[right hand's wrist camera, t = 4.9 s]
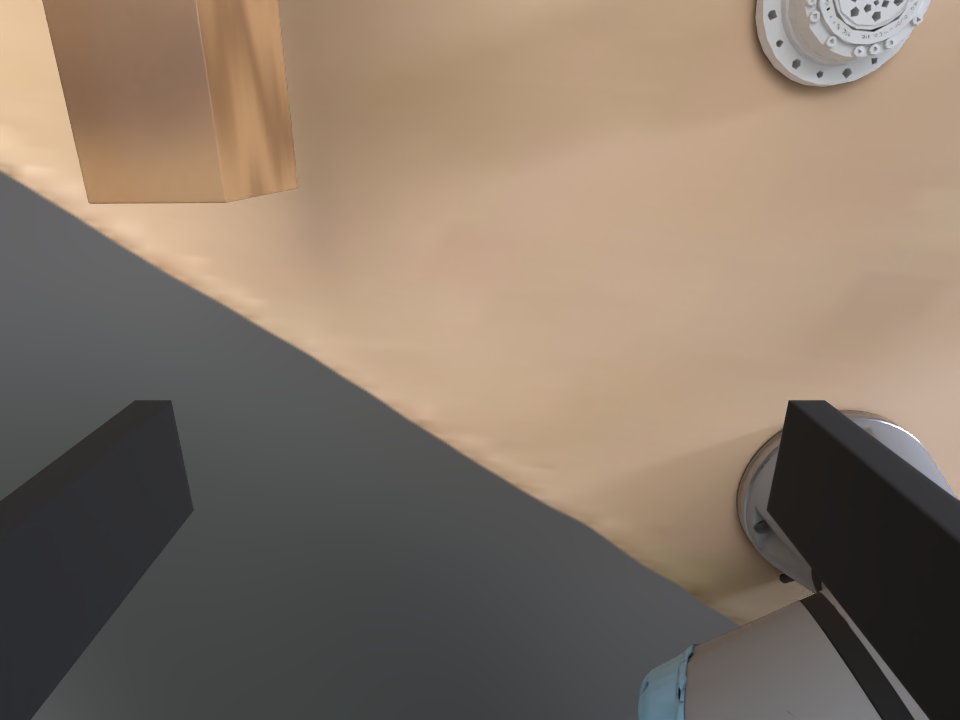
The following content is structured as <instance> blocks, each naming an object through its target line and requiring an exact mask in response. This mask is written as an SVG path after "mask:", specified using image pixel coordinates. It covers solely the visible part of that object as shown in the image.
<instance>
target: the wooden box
mask: <svg viewBox="0 0 960 720" xmlns="http://www.w3.org/2000/svg"><path fill="white" fill-rule="evenodd" d="M42 1H43V5H44V10H45V14H46V18H47V23H48V27H49V32H50V36H51V40H52V45H53V49H54V53H55V58H56V62H57V67H58V71H59V75H60V80H61V84H62V88H63V93H64V97H65V101H66V106H67V110H68V115H69V119H70V123H71V128H72V132H73V136H74V141H75V145H76V150H77V154H78V158H79V163H80V167H81V171H82V176H83V180H84V185H85V189H86V193H87V198H88V202H89V203H90V204H110V203H227V202H231V201H236V200H241V199H246V198H251V197H256V196H261V195H266V194H271V193H276V192H281V191H286V190H291V189H296V188H298V181H297V172H296V163H295V154H294V145H293V135H292V126H291V117H290V108H289V99H288V90H287V80H286V71H285V62H284V53H283V44H282V35H281V25H280V16H279V7H278V0H42Z"/></svg>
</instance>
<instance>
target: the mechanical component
mask: <svg viewBox="0 0 960 720" xmlns="http://www.w3.org/2000/svg"><path fill="white" fill-rule="evenodd" d="M930 1H931V0H757V5H756V17H755V18H756V26H757V33H758V38H759V40H760V43H761V46H762V49H763V52H764V53H765V55H766V56H767V57H768V59H769V60H770V62H771V63H772V65H773V66H774V68H776V69H777V70H778V71H780V72H781V73H782V74H783V75H785V76H786V77H787V78H789V79H790V80H792V81H795V82H798V83H800V84H803V85H810V86H820V87H826V86H831V85H836V84H841V83H846V82H851V81H855V80H857V79H859V78H861V77H863V76H865V75H867V74H869V73H871V72H873V71H875V70H877V69H878V68H879V67H880V66H881V65H883V64H884V63H885V62H886V61H887V60H889V59H890V58H891V57H892V56H893V55H895V54H896V53H897V52H898V51H899V49H900V48H901V47H902V45H903V44H904V43H905V41H906V40H907V39H908V37H909V36H910V34H911V32H912V30H913V29H914V28H915V26H917V25H918V24H920V23H921V22H922V21H923V15H924V14H925V13H926V10H927V8H928V6H929V4H930ZM767 15H768V16H769V18H768V16H767ZM792 63H793V65H792Z"/></svg>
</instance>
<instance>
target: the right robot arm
mask: <svg viewBox="0 0 960 720" xmlns="http://www.w3.org/2000/svg"><path fill="white" fill-rule="evenodd" d="M737 508H738V515H739V520H740V523H741V526H742V528H743V530H744V532H745V534H746V535H747V537H748V538H749V540H750V541H751V543H752V544H753V545H754V547H755V548H756V550H757V551H758V552H759V553H760V555H761V556H762V557H763V558H764V559H766V560H767V561H768V562H769V563H770V564H772V565H773V566H774V567H776V568H777V569H779V570H780V571H782V572H783V573H784V574H781V575H780V577H779V579H780V581H781V582H782V583H788V582H792V581H797V582H798V583H800V584H801V585H803V586H804V587H806V588H807V589H809V590H810V591H812V592H813V593H815V594H813V595H811V596H809V597H807V598H805V599H802V600H799V601H797V602H794V603H792V604H790V605H788V606H786V607H783V608H781V609H779V610H777V611H775V612H772V613H770V614H768V615H766V616H764V617H762V618H759V619H757V620H755V621H753V622H751V623H748V624H746V625H744V626H742V627H740V628H737V629H735V630H733V631H730V632H728V633H726V634H723V635H721V636H719V637H716V638H714V639H712V640H709V641H707V642H705V643H702V644H700V645H699V644H694V645H691V646H689V647H688V648H687V649H686V651H685V652H684V653H682V654H680V655H678V656H677V657H675V658H673V659H671V660H669V661H667V662H665V663H663V664H661V665H659V666H657V667H656V668H654V669H653V670H651V671H650V672H649V673H648V674H647V676H646V677H645V679H644V680H643V683H642V685H641V689H640V693H639V703H638V717H639V720H960V500H958V499H957V497H956V496H955V494H954V492H953V491H952V489H951V488H950V486H949V485H948V483H947V481H946V480H945V478H944V477H943V475H942V473H941V472H940V470H939V469H938V467H937V465H936V464H935V462H934V461H933V459H932V457H931V456H930V455H929V453H928V452H927V450H926V449H925V448H924V447H923V445H922V444H921V443H920V442H919V441H918V440H917V439H916V438H915V437H914V436H912V435H911V434H910V433H908V432H907V431H905V430H904V429H902V428H901V427H899V426H898V425H896V424H895V423H893V422H892V421H890V420H888V419H886V418H884V417H881V416H878V415H875V414H872V413H868V412H862V411H851V410H846V411H838V410H837V409H836V408H834V407H833V406H832V405H830V404H829V403H828V402H826V401H825V400H789V402H788V407H787V412H786V417H785V422H784V426H783V430H782V431H781V432H779V433H778V434H777V435H775V436H774V437H773V438H771V439H770V440H769V441H768V442H767V443H766V444H765V445H764V446H763V447H762V448H761V449H760V450H759V451H758V452H757V454H756V455H755V456H754V458H753V459H752V460H751V462H750V464H749V465H748V467H747V469H746V471H745V473H744V475H743V477H742V480H741V483H740V487H739V491H738V498H737ZM192 512H193V505H192V500H191V495H190V490H189V485H188V480H187V475H186V470H185V466H184V461H183V456H182V451H181V446H180V441H179V436H178V432H177V427H176V422H175V417H174V412H173V407H172V402H171V400H135V401H134V402H133V403H131V404H130V405H128V406H127V407H126V408H124V409H123V410H122V411H120V412H119V413H118V414H116V415H115V416H114V417H112V418H111V419H110V420H108V421H107V422H106V423H104V424H103V425H102V426H100V427H99V428H98V429H96V430H95V431H94V432H92V433H91V434H90V435H88V436H87V437H86V438H84V439H83V440H82V441H80V442H79V443H78V444H76V445H75V446H74V447H72V448H71V449H70V450H68V451H67V452H66V453H64V454H63V455H62V456H60V457H59V458H58V459H56V460H55V461H54V462H52V463H51V464H50V465H48V466H47V467H46V468H44V469H43V470H42V471H40V472H39V473H38V474H36V475H35V476H34V477H32V478H31V479H30V480H28V481H27V482H26V483H24V484H23V485H22V486H20V487H19V488H18V489H16V490H15V491H14V492H12V493H11V494H10V495H8V496H7V497H5V498H4V499H3V500H1V501H0V720H31V718H32V717H33V716H34V715H35V713H36V712H37V711H38V709H39V708H40V707H41V706H42V704H43V703H44V702H45V700H46V699H47V698H48V697H49V695H50V694H51V693H52V691H53V690H54V689H55V688H56V686H57V685H58V684H59V682H60V681H61V680H62V679H63V677H64V676H65V675H66V673H67V672H68V671H69V670H70V668H71V667H72V666H73V664H74V663H75V662H76V661H77V659H78V658H79V657H80V655H81V654H82V653H83V652H84V650H85V649H86V648H87V646H88V645H89V644H90V643H91V641H92V640H93V639H94V637H95V636H96V635H97V634H98V632H99V631H100V630H101V628H102V627H103V626H104V625H105V623H106V622H107V621H108V620H109V618H110V617H111V616H112V614H113V613H114V612H115V611H116V609H117V608H118V607H119V605H120V604H121V603H122V602H123V600H124V599H125V598H126V596H127V595H128V594H129V593H130V591H131V590H132V589H133V587H134V586H135V585H136V584H137V582H138V581H139V580H140V578H141V577H142V576H143V575H144V573H145V572H146V571H147V569H148V568H149V567H150V566H151V564H152V563H153V562H154V560H155V559H156V558H157V557H158V555H159V554H160V553H161V551H162V550H163V549H164V548H165V546H166V545H167V544H168V542H169V541H170V540H171V538H172V537H173V536H174V535H175V533H176V532H177V531H178V530H179V528H180V527H181V526H182V524H183V523H184V522H185V521H186V519H187V518H188V517H189V515H190V514H191V513H192Z"/></svg>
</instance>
